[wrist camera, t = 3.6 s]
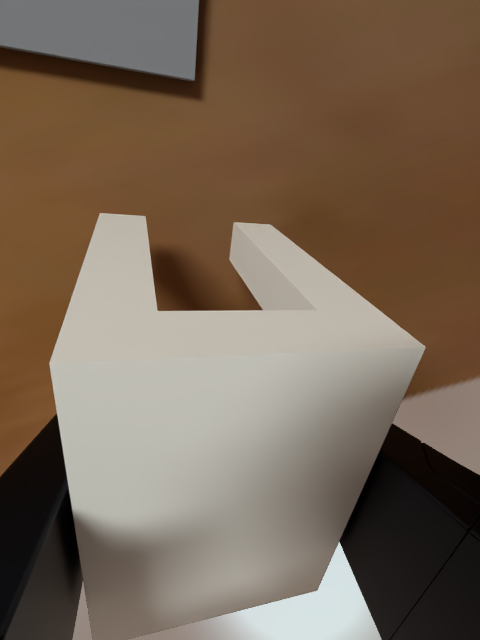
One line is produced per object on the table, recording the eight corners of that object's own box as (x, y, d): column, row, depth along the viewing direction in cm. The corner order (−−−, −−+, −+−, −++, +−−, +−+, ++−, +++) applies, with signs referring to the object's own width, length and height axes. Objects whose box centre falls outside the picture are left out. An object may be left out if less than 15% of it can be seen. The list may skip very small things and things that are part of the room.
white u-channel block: (270, 224, 11) (425, 347, 5) (241, 396, 14) (317, 590, 8) (100, 212, 10) (49, 363, 4) (111, 406, 13) (94, 648, 7)
